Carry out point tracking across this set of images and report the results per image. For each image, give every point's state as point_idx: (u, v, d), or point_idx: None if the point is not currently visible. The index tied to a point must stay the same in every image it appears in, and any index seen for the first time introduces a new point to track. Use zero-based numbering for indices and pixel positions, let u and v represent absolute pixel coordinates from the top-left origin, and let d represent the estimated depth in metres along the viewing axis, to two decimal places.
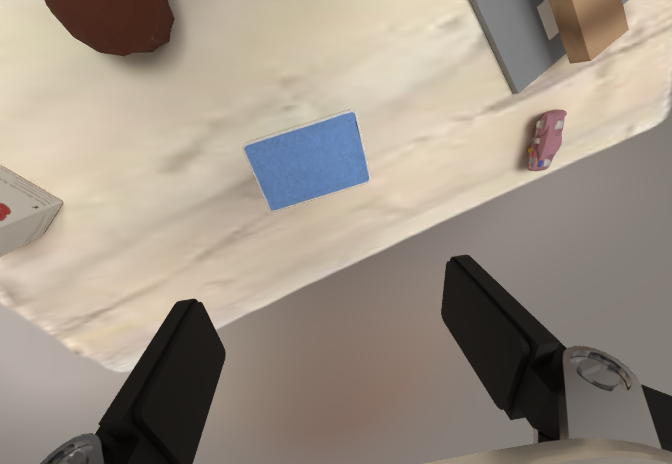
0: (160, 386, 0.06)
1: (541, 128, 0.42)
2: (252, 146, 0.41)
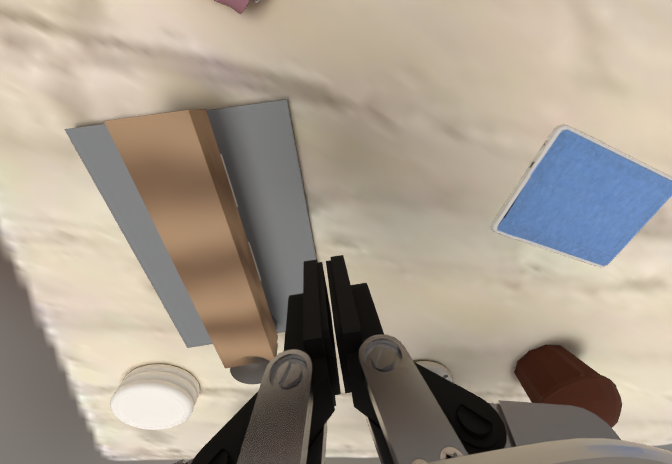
0: (328, 319, 0.08)
1: None
2: (600, 261, 0.34)
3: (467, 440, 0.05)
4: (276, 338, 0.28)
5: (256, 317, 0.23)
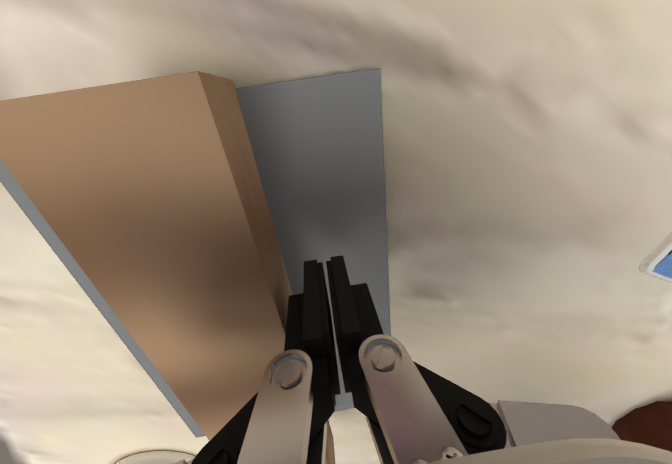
0: (328, 319, 0.08)
1: None
2: None
3: (467, 440, 0.05)
4: (333, 445, 0.18)
5: None
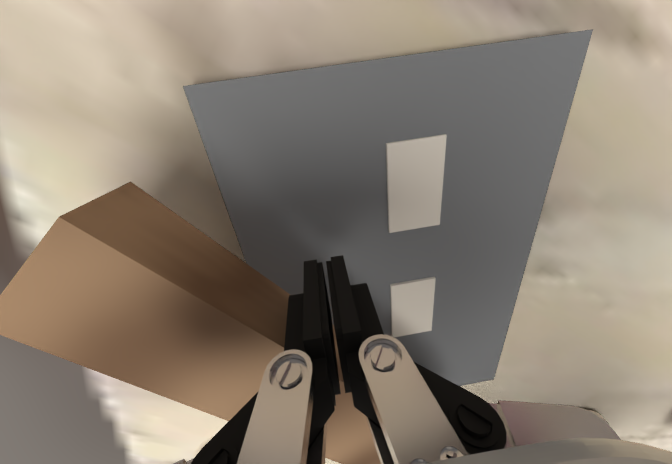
0: (328, 319, 0.08)
1: None
2: None
3: (467, 440, 0.05)
4: None
5: None
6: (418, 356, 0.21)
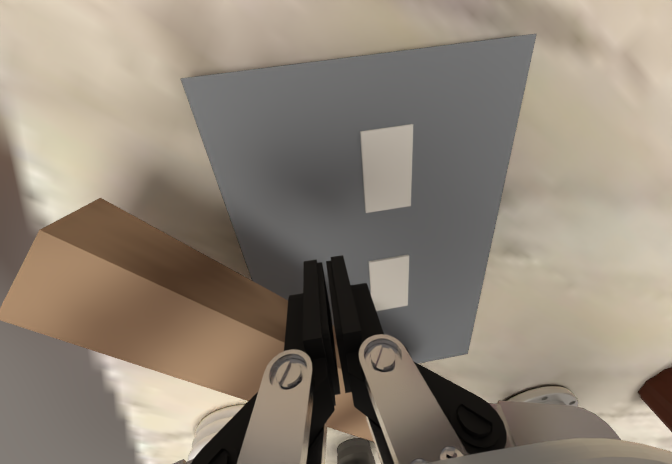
0: (328, 319, 0.08)
1: None
2: None
3: (467, 440, 0.05)
4: None
5: None
6: (396, 330, 0.23)
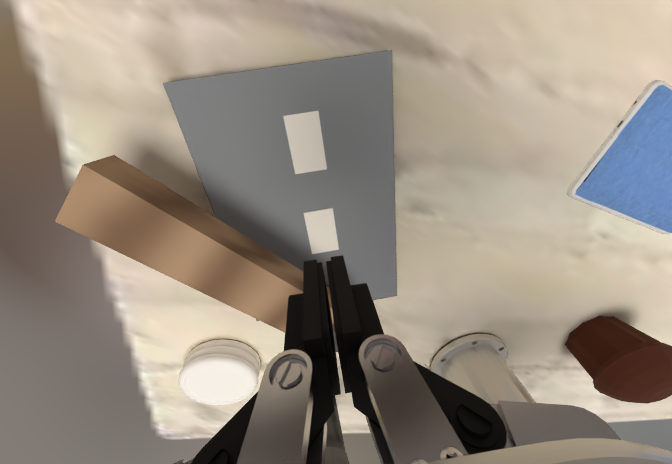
0: (328, 319, 0.08)
1: None
2: (668, 228, 0.33)
3: (467, 440, 0.05)
4: None
5: (298, 292, 0.23)
6: None
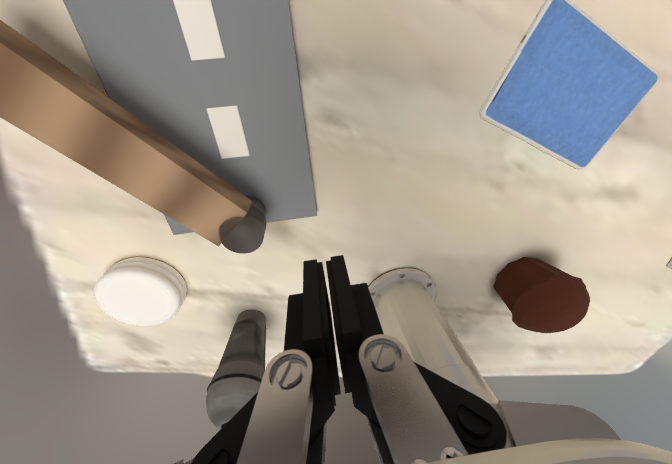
0: (328, 319, 0.08)
1: None
2: (579, 162, 0.35)
3: (467, 440, 0.05)
4: (248, 201, 0.27)
5: (187, 175, 0.23)
6: (249, 182, 0.30)
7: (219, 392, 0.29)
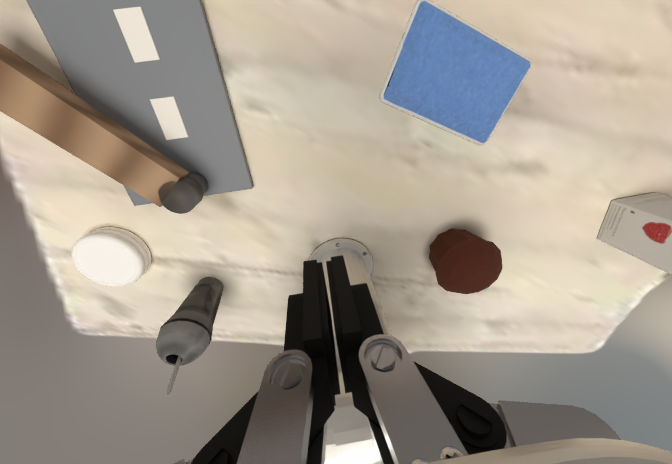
0: (328, 319, 0.08)
1: None
2: (478, 138, 0.40)
3: (467, 440, 0.05)
4: (184, 171, 0.34)
5: (128, 147, 0.30)
6: (191, 159, 0.37)
7: (165, 331, 0.36)
